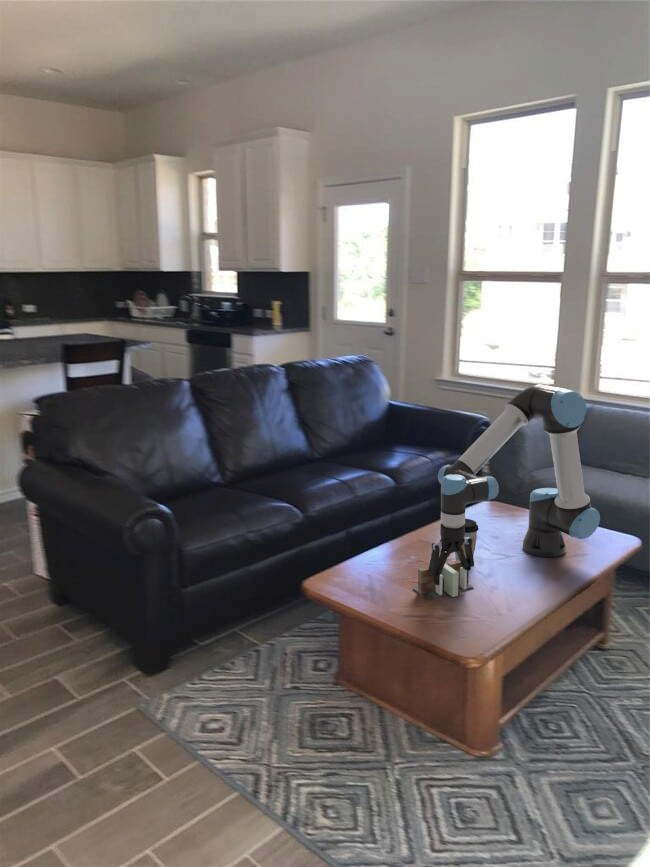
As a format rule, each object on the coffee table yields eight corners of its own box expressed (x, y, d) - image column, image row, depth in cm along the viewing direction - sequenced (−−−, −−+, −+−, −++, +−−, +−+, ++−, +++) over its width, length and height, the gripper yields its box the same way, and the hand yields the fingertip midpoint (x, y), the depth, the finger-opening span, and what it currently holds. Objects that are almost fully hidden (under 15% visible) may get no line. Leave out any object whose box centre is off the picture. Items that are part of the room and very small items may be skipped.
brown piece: (459, 578, 234) (460, 555, 232) (473, 588, 227) (474, 564, 225) (413, 589, 227) (413, 565, 225) (426, 599, 220) (426, 574, 218)
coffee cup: (477, 568, 241) (479, 528, 238) (450, 566, 243) (451, 526, 240) (477, 557, 250) (478, 518, 247) (450, 555, 252) (451, 517, 249)
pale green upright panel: (429, 579, 232) (429, 557, 230) (434, 578, 233) (434, 556, 231) (452, 597, 220) (453, 573, 218) (457, 595, 221) (458, 572, 219)
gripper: (473, 514, 224) (471, 579, 230) (417, 525, 216) (416, 592, 222) (487, 522, 218) (485, 588, 223) (429, 533, 210) (428, 602, 215)
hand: (451, 590), depth 222 cm, fingers open, 8 cm apart
